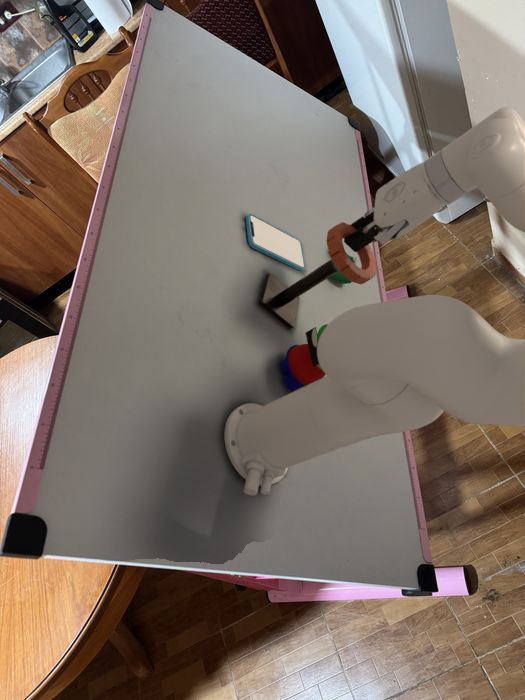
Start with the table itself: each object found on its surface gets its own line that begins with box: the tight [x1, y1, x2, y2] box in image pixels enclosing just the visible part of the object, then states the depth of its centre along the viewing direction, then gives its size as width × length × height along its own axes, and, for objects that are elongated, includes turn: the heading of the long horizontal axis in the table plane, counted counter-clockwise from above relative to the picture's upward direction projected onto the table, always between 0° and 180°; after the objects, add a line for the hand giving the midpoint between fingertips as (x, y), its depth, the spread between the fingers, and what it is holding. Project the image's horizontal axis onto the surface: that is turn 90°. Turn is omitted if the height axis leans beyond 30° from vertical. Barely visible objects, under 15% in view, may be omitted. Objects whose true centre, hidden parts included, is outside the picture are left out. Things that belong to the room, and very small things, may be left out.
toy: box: [280, 323, 329, 392], centre depth 92 cm, size 9×9×15 cm
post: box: [258, 258, 339, 330], centre depth 99 cm, size 8×8×14 cm
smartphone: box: [245, 213, 306, 272], centre depth 110 cm, size 8×1×15 cm
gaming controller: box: [328, 254, 358, 285], centre depth 121 cm, size 9×4×6 cm
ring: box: [325, 221, 377, 285], centre depth 92 cm, size 10×10×2 cm
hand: (350, 240), depth 95 cm, fingers closed on ring, 2 cm apart
